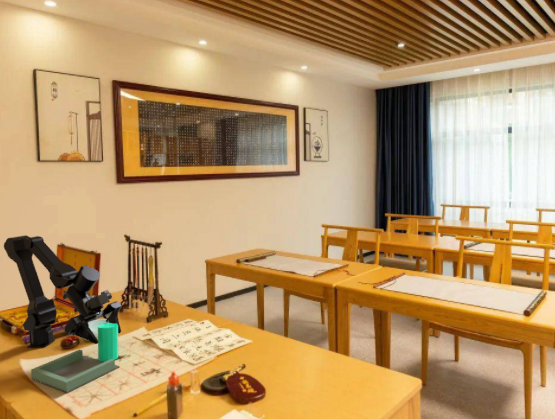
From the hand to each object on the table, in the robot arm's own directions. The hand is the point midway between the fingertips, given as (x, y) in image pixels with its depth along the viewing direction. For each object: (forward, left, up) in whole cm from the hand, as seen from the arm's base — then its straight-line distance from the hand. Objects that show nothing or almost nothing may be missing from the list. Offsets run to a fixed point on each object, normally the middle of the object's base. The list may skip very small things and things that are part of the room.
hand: (109, 337), depth 136 cm
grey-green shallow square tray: (-6, -10, -7) cm, 13 cm away
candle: (-1, 0, -7) cm, 7 cm away
